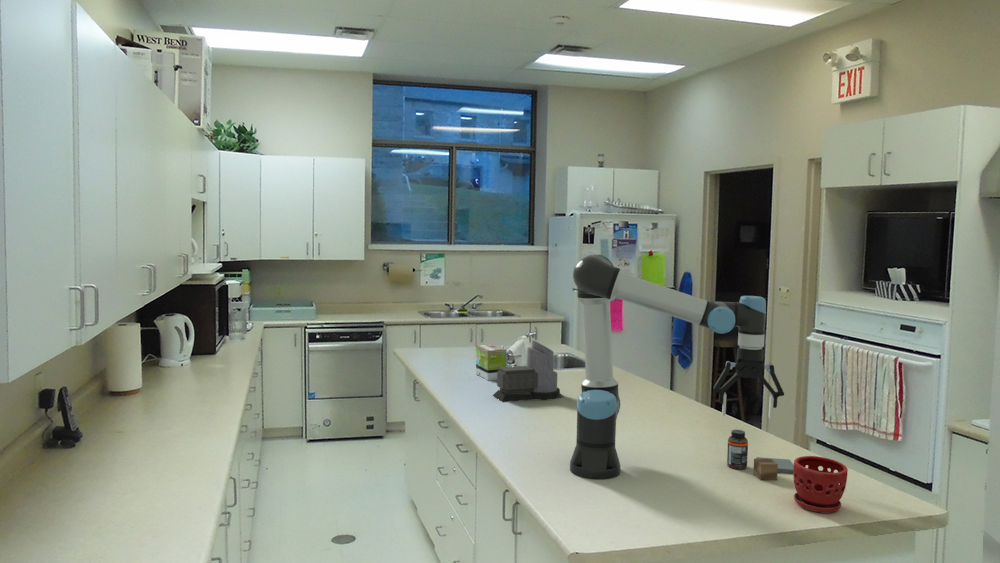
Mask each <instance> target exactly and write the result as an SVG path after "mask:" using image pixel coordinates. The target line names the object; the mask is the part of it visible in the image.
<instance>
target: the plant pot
mask: <svg viewBox="0 0 1000 563" xmlns="http://www.w3.org/2000/svg"><path fill="white" fill-rule="evenodd" d="M793 465H794V469H793V473H794V474H793V473H792V474H793V484H794V488H795V491H796V493H794V495H793V499H794V501H795V502H796V504H797V505H798V506H799V507H801V508H803V509H806V510H808V511H812V512H816V513H821V514H822V513H823V514H826V513H828V514H829V513H834V512H838V510H840V509H841V507H842V502H841V501H840V500H841V499H842V497H843V495H844V494H845V490H846V487H847V486H846V485H847V480H848V472H849V471H848V469H849V468H847V466H846V465H845V464H843V463H842V462H840V461H838V460H834V459H832V458H831V459H830V458H827V457H822V456H816V455H805V456H798V457H795V459H794V460H793ZM806 466H807V467H806ZM819 467H821V468H822V470H820V469H819ZM828 469H830V471H829V470H828ZM835 471H837V472H835Z"/></svg>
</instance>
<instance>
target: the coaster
mask: <svg viewBox="0 0 1000 563" xmlns="http://www.w3.org/2000/svg"><path fill="white" fill-rule="evenodd" d="M756 459H772V460H773V461H774V462H776V463H777V464H778V470H777V473H779V474H782V473H783V474H793V475H794V473H793V469H794V463H793V461H791V459H788V458H787V459H786V458H774V457H763V456H761V457H759V456H756Z"/></svg>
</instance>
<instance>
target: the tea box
mask: <svg viewBox="0 0 1000 563" xmlns="http://www.w3.org/2000/svg"><path fill="white" fill-rule="evenodd" d="M501 367H507V348H503V347H502V346H499V345H497V344H494V343H493V344H483V345H482V344H480V345H475V375H476V376H477V375H478V376H479V377H481V378H482V379H483V380H486V381H488V380H489V381H497V380H496V379H497V371H499V368H501Z"/></svg>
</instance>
